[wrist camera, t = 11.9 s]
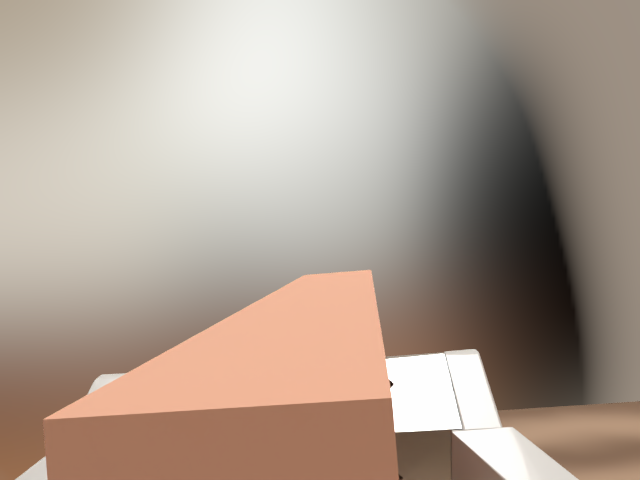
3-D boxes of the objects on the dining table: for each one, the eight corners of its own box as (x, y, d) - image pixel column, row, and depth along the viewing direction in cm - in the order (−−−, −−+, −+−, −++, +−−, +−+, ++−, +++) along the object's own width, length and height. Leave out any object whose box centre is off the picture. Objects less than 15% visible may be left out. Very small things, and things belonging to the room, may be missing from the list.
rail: (422, 763, 5) (392, 397, 5) (70, 769, 5) (43, 418, 5) (376, 336, 27) (371, 269, 27) (310, 341, 27) (304, 275, 27)
